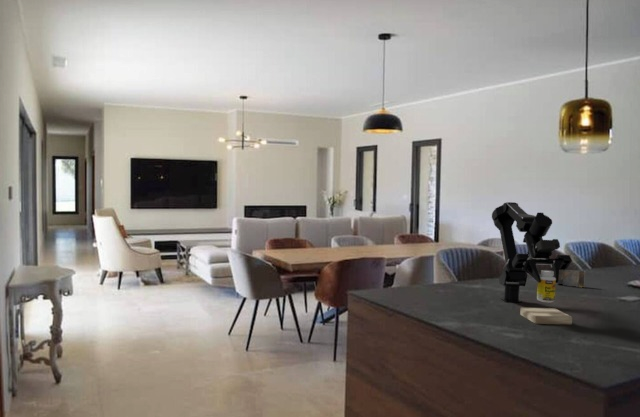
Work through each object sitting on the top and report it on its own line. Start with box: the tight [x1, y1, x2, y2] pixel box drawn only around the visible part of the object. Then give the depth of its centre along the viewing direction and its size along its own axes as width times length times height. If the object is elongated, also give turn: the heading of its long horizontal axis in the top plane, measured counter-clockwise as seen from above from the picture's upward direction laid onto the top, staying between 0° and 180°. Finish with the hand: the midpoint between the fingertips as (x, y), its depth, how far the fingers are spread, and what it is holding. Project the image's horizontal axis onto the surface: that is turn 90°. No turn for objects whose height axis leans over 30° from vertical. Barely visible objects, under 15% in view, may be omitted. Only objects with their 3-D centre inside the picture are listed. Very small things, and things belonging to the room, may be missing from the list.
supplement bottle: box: [536, 269, 557, 304], centre depth 174 cm, size 6×6×10 cm
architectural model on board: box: [556, 269, 586, 288], centre depth 242 cm, size 11×3×10 cm, turn 64°
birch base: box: [519, 307, 573, 325], centre depth 175 cm, size 12×12×2 cm
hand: (548, 282), depth 173 cm, fingers closed on supplement bottle, 5 cm apart
